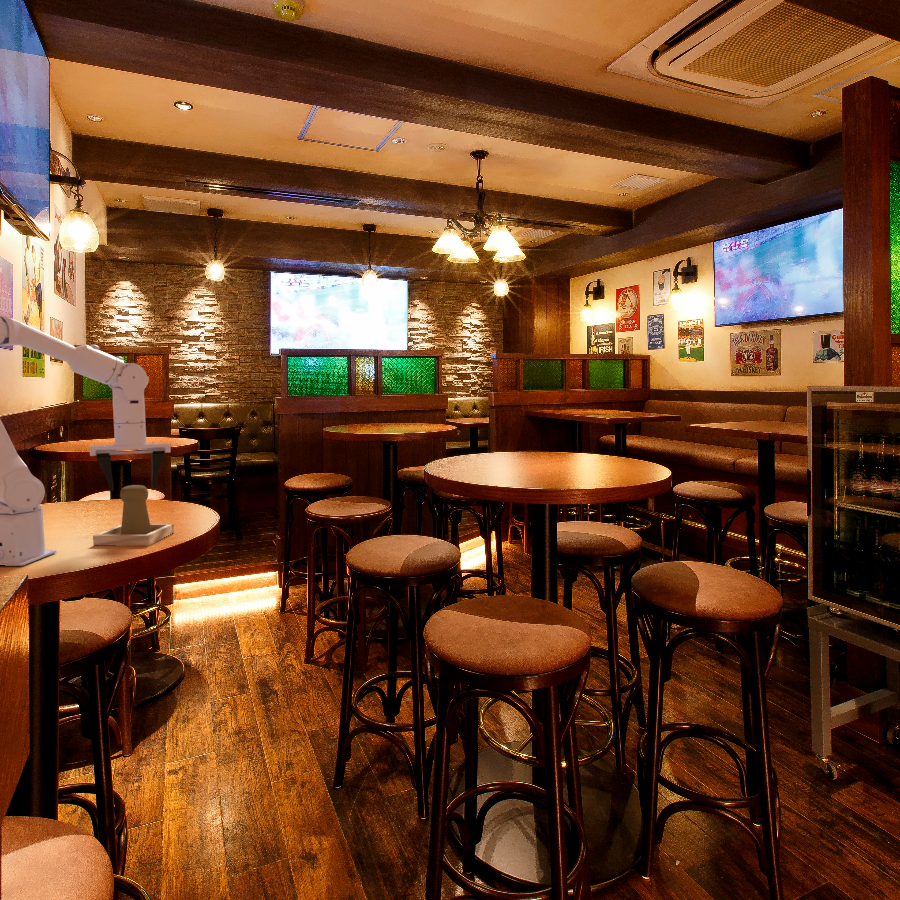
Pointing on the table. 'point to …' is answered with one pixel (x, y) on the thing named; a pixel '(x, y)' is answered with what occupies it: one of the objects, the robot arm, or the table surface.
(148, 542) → the open square wooden box
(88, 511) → the table surface
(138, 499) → the cork
